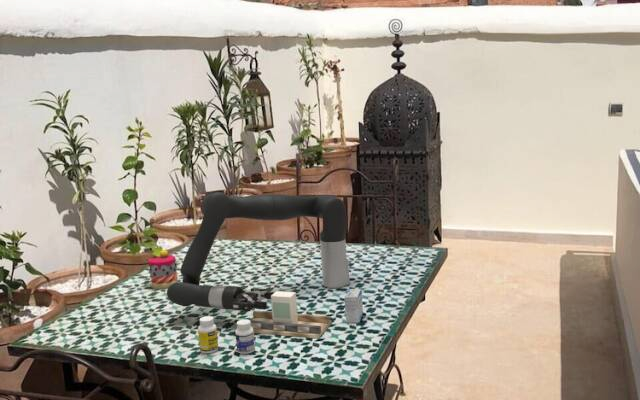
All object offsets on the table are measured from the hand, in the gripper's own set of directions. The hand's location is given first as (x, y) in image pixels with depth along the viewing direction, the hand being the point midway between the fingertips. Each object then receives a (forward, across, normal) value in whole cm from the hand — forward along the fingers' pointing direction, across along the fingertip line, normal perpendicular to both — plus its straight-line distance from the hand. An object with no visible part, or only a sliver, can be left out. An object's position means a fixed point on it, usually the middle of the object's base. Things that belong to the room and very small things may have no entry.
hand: (272, 300), depth 211 cm
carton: (+4, 0, +8) cm, 9 cm away
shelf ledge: (+4, 0, +9) cm, 10 cm away
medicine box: (+23, +12, +9) cm, 27 cm away
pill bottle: (-1, -18, +9) cm, 21 cm away
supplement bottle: (-12, -20, +9) cm, 25 cm away
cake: (-60, +31, +9) cm, 68 cm away
